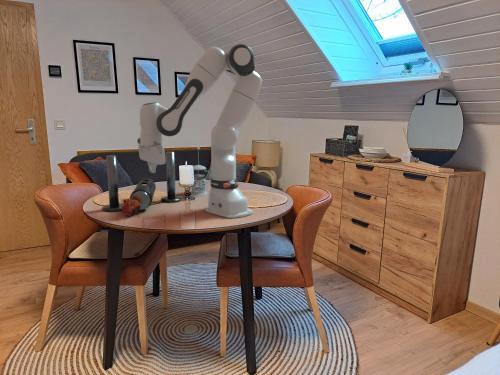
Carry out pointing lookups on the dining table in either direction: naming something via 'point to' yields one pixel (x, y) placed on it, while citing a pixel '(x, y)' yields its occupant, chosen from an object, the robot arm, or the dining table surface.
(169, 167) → the posts
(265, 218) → the dining table surface
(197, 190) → the french press
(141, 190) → the muzzle brake
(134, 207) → the pomegranate
